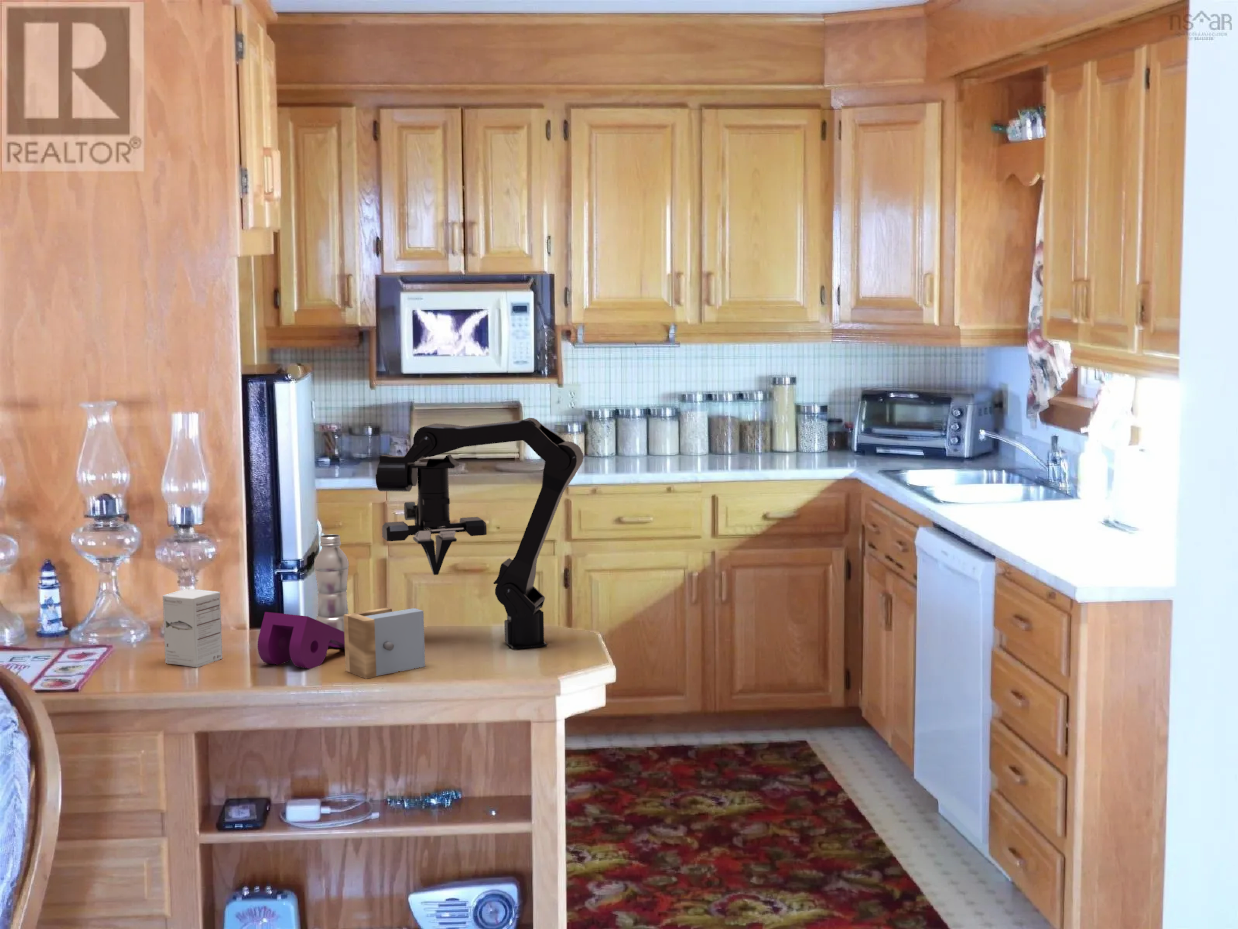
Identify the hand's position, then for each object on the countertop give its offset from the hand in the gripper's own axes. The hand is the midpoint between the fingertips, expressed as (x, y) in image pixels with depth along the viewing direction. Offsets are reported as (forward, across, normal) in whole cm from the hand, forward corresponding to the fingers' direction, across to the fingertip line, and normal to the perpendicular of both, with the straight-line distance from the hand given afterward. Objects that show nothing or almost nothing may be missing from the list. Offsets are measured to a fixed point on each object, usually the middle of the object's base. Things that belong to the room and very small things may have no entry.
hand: (435, 574), depth 277 cm
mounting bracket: (+14, +24, +3) cm, 27 cm away
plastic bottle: (+13, +18, -10) cm, 24 cm away
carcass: (+13, +14, +17) cm, 26 cm away
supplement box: (+13, +44, -2) cm, 46 cm away
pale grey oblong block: (+13, +11, +18) cm, 24 cm away
